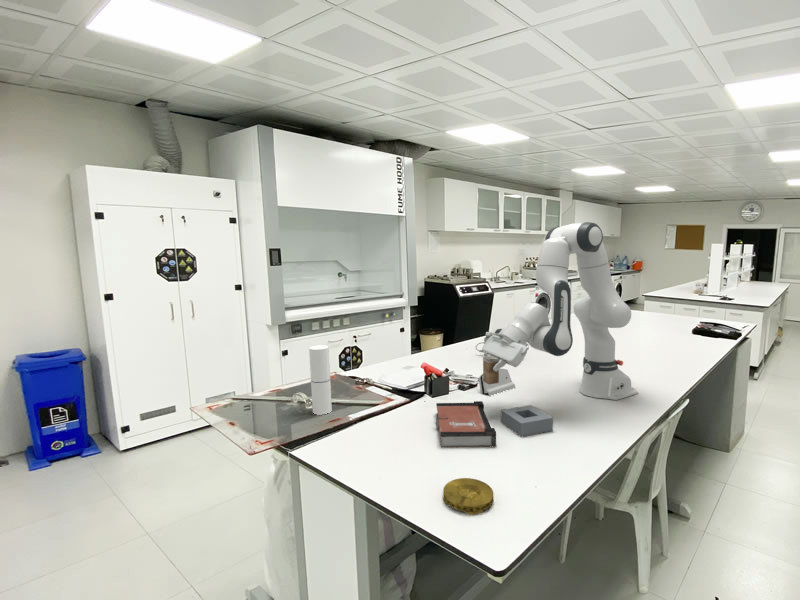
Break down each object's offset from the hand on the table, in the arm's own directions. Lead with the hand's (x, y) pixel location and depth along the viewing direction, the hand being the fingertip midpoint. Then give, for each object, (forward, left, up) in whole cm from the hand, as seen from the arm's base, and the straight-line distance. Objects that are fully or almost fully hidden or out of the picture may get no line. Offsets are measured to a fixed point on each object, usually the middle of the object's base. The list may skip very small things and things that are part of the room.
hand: (489, 368), depth 150 cm
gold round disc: (+31, +43, -18) cm, 56 cm away
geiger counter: (-43, -67, -18) cm, 82 cm away
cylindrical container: (+57, -26, -18) cm, 65 cm away
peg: (-1, 0, -5) cm, 5 cm away
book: (+14, +7, -18) cm, 24 cm away
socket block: (-6, +13, -17) cm, 23 cm away
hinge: (-16, -23, -18) cm, 33 cm away
